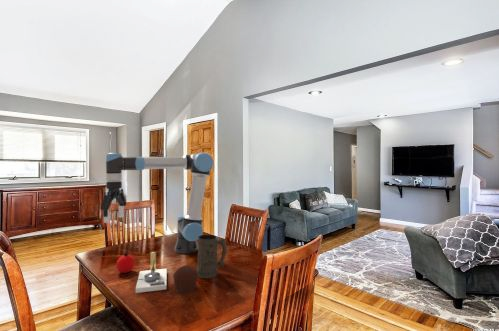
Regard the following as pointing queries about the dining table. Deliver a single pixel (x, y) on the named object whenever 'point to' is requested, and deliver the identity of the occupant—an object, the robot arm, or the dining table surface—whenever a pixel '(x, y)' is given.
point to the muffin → (185, 279)
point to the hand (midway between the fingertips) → (114, 219)
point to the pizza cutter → (152, 270)
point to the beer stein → (209, 255)
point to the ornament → (125, 263)
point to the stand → (151, 286)
